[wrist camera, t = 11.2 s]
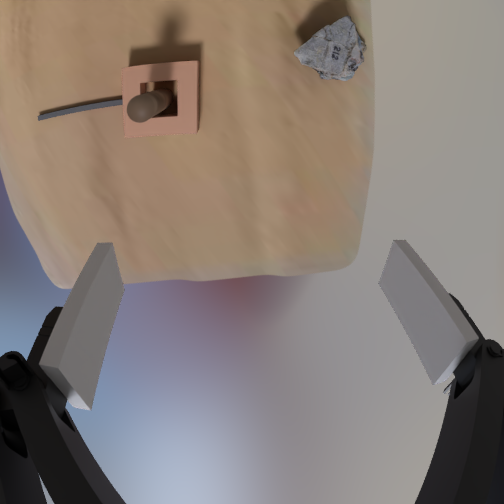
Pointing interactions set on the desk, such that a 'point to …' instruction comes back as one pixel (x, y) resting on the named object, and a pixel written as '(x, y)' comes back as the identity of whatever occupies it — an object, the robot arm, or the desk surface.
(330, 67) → the mineral specimen
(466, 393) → the robot arm
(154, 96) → the dowel
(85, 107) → the strip
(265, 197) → the desk surface
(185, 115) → the pink square frame
